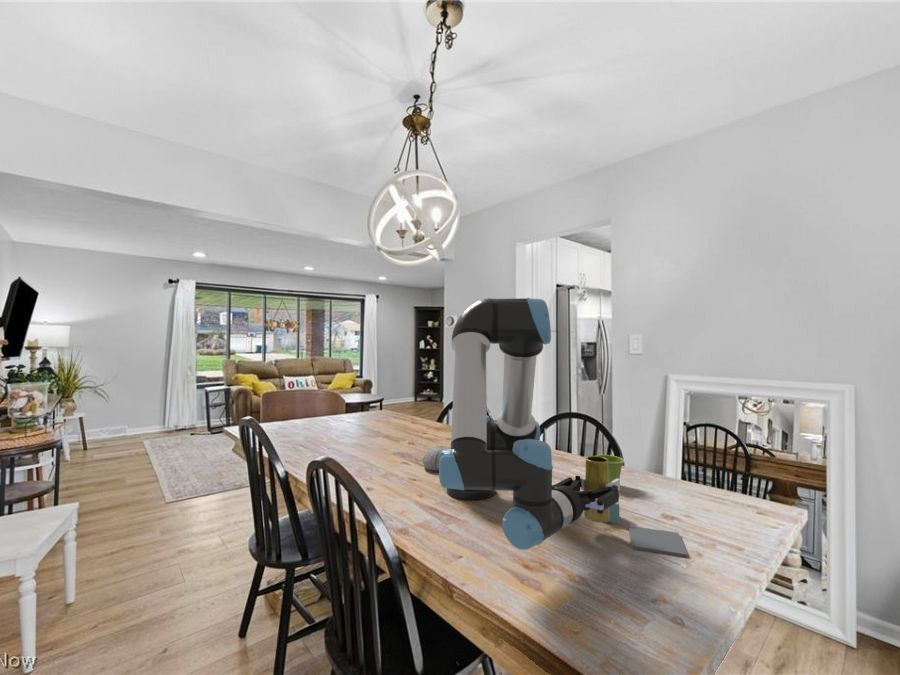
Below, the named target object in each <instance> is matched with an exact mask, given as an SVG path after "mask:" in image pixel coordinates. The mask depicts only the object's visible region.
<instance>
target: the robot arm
mask: <svg viewBox="0 0 900 675" xmlns="http://www.w3.org/2000/svg"><path fill="white" fill-rule="evenodd" d="M551 328H552V326H551V320H550V313H549V307H548V304H547V303H546V301H545V300H543V299H542V298H531V297H527V298H526V297H525V298H483V299H480V300H477V301H476V302H474V303H472V304H470V305H469V306H468V307H467V308H466V309H465V310H464V311H463V312H462V313H461V315H460V316H459V317H458V319H457V321H456V323H455V325H454V327H453V331H452V334H451V349H452V350H453V351H454V370H453V371H454V372H453V373H454V374H453V393H452V412H451V413H452V414H451V435H450V437H451V438H450V447H449V448H450V449H447V450H442V451H441V454H440V460H439V471H438V476H439V477H438V478H439V483H440V485H441V487H443V488H445V489H446V493H447V494H448V495H449V496H451V497H454V498H456V499H459V500H460V499H461V500H467V501H468V500H469V501H473V500H474V501H475V500H476V501H477V500H484V499H487V498H488V499H489V498H491V497H492V496H494V495H495V493H496V491H505V492H506V491H509V492H513V493H512V498H513V499H512V504H513V505H512V506H513V507H511V508H510V509H509V510H507V511H506V512H505V514H504V516H503V518H502V523H501V524H502V530H503V534H504V536H505V538H506V539H507V541H508V542H509V543H510V544H511V545H512V546H513V547H514V548H517V549H518V550H524V551H525V550H529V549H531V548H533V547H535V546H539V545H541V544H543V542H544V541H546V540H547V539H549V537H551V536H553V535H554V534H556V533H558V532H559V531H560V530H562V529H564V528H565V527H567V526H569V525H571V524H572V523H574V522H575V521H577V520H578V519H580V517H581V515H583V514H584V513H583V512H585V511H586V510H589V509H590V508H593V509H595V510H597V512H598V513H600V514H602V513H603V512H604V510H605V509H607V508H608V507H610V506H612V505H614V504H615V503H617V502H619V503H620V499H619V497H620V494H619V492H620V490H621V479H615V480H613V481H611V482H610V483H608V484H606V485H605V488H601V489H597V490H593V491H589V490H585V476H583V477H581V476H580V475H575V479H573V478H572V477H570V476H569V477H567V478H565V479H562V480H561V481H559V482H557V483H555V484H553V460H552V458H553V457H552V447H551V446H550V445H549V444H548V443H547V442H545V441H542V440H541V428H540V424H539V422H538V421H536V419H535V417H534V415H532V410H533V401H534V400H533V399H534V390H535V389H534V388H535V387H534V386H535V375H536V364H537V356H539V355H540V354H542V352H543V349H544V345H548V344H550V343H551V341H552V330H551ZM491 344H493V345H495V344H498V347H499V350H500V351H501V352H502V353H503V354H504V355H503V356H504V358H503V363H504V364H503V382H502V383H503V385H502V408H501V410H502V411H501V412H500V413H499V414H498V416H497V418H496V420H491V418H490V416H489V415H487V413H488V411H487V410H488V409H487V408H488V407H487V402H488V401H487V398H488V396H487V352H488V351H489V350H490V348H491Z"/></svg>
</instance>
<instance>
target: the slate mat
mask: <svg viewBox="0 0 900 675" xmlns="http://www.w3.org/2000/svg"><path fill="white" fill-rule="evenodd" d="M628 532H629V539H630V545H631V549H633V550H639V551H645V552H651V553H659V554H664V555H669V556H675V557H676V556H677V557H682V558H688V553H687V550H686V547H685V545H684V542H683V541H682V538H681V535H680V533H679V532H677V531H668V530H661V529H654V528H647V527H640V526H633V525H629V526H628Z"/></svg>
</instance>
